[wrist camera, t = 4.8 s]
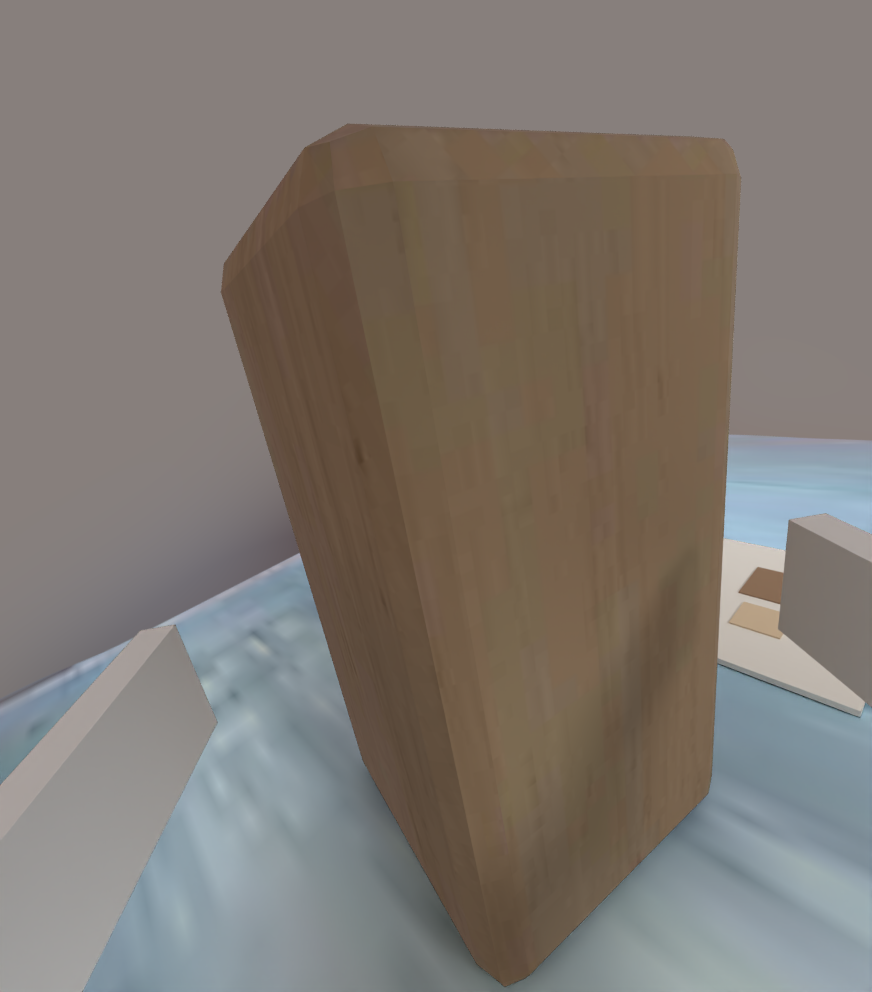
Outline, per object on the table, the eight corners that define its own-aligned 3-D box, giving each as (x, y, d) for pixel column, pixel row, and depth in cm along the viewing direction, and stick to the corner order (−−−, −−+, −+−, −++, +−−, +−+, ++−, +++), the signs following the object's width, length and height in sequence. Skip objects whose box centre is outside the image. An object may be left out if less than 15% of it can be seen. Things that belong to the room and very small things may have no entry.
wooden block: (359, 761, 20) (205, 260, 14) (531, 655, 25) (480, 236, 18) (504, 1026, 12) (297, 80, 5) (723, 796, 17) (766, 117, 10)
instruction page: (722, 541, 32) (722, 536, 32) (906, 579, 25) (907, 573, 25) (637, 632, 25) (637, 627, 25) (860, 717, 18) (861, 710, 18)
